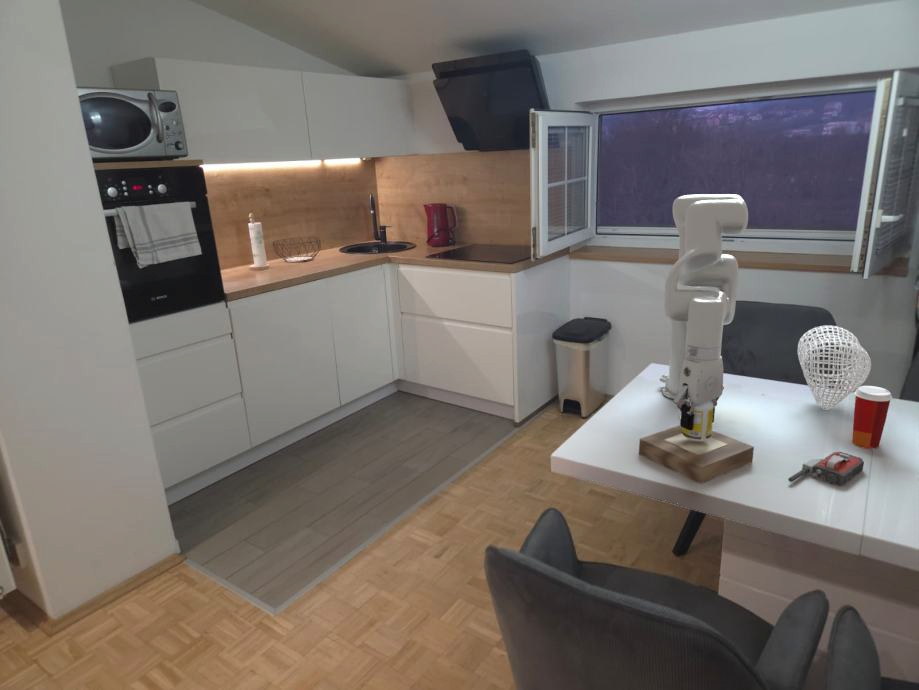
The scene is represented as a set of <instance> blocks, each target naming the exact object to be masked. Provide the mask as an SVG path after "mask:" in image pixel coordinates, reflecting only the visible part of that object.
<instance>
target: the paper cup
mask: <svg viewBox="0 0 919 690" xmlns="http://www.w3.org/2000/svg"><path fill="white" fill-rule="evenodd" d="M853 392H854V393H853V395H854V396H855V398H854V400H855V401H854V411H853V421H852V422H853V426H852V435H851V436H852V437H851V438H852V439H851V440H852V441H851V442H852V444H853V445H854V446H855V447H858V448H862V449H869V450H875V449H878V448H879V447H880V444H881V440H882V437H883V433H884V428H885V424H886V420H887V415H888V412H889V407H890V404H891V401H892V400H893V396H892V393H891V392H890V391H889V390H888V389H887V388H883V387H880V386H874V385H860V386H859V387H858V388H857V389H856V390H854V391H853Z"/></svg>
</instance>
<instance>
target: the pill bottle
mask: <svg viewBox="0 0 919 690" xmlns="http://www.w3.org/2000/svg"><path fill="white" fill-rule="evenodd" d="M688 399H689V398H688ZM689 400H690V399H689ZM686 405H687V406H688V408H689V405H690V403H689V402H687V404H686ZM713 408H714V405H713V402H712V401H711V400H710V401H707V402H703V403H700V404H695V407H694V409H693V412H692V414H694V423H693V430H688V429H685V428H683V427H682V434H683V436H684V437H685V438H687V439H689V440H693V441H706V440H708V439H710V437H711V432H712V431H713V428H712V427H713V423H712V420H713Z"/></svg>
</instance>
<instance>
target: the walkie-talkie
mask: <svg viewBox="0 0 919 690" xmlns="http://www.w3.org/2000/svg"><path fill="white" fill-rule="evenodd" d="M864 464H865V461H864V460H863V458H861V457H860V456H856V455H852V454H849V453H846V452H843V451H836V452H834V451H833V452H832V453H830V454H829V455H827V456H826V457H824V458H811V459H810V460H808V461H807V462H804V463H803V464H802V466H801V470H799V471H797V473H795V474H793V475H791V476H790V477H788V481H789V482H790V483H794V482H795V481H796V480H798V479H800V478H801V477H802V476H804V475H806V474H808V475H811V476H812V477H813V478H817V479H820V480H823V481H824V482H829V483H830V484H834V485H836V486H840V487H843V486H844V485H846V484H847V483H849V482H850V481H852V480H853V479H854V478H856V476H858V475H860V473H862V472H863V471H864Z"/></svg>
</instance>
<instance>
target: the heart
mask: <svg viewBox="0 0 919 690" xmlns="http://www.w3.org/2000/svg"><path fill="white" fill-rule="evenodd" d="M809 339H810V340H809ZM844 343H845V344H844ZM827 344H828V345H827ZM848 344H849V345H848ZM837 348H838V349H837ZM843 348H844V349H843ZM821 350H822V352H821ZM826 354H828V355H826ZM845 355H846V357H845ZM850 356H851V357H850ZM820 357H822V359H820ZM797 358H798V361H799V364H800V367H801V370H802V373H803V377H804V378H805V379H804V380H805V381H806V384H807V386H808V388H809V390H810V392H811V394H812V397H813V398H814V400H815V401H816V404H817V406H818V407H819V408H820V409H821V410H824V411H830V410H832V409H834V407H836V406H837V405H838V404H840V403H841V402H842V401H843V400H844V399H845V398H847V397H848V396H849V395H850V394H852V393H853V392H855V391H856V390H857V389H858V387H860V386H862V385H863V384H864V383H865V382H866V380H867V379H868V377H869V375H870V373H871V368H872V360H871V357H870V355H869V353H868V352H867V351H866V349H865V348H863V346H861V344H860V341H859V340H858V337H857V336H855V335H854V334H853V333H852V332H851V331H850V330H849V329H848V330H847V329H846V328H843V327H842V326H841V327H840V326H838V325H831V324H830V325H820V326H815V327H813V328H811V329H809V330H807V331H806V332H805V333H804V334H803V335H802V336H801V337H800V338H799V339H798V344H797ZM825 358H828V359H825ZM820 364H822V367H820ZM825 365H827V366H828V367H825ZM831 365H832V368H831ZM839 366H840V367H839ZM844 366H845V368H844ZM820 370H821V373H820ZM825 371H827V373H825ZM830 371H832V373H831V374H830ZM836 371H837V372H836ZM834 382H835V383H834Z"/></svg>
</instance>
